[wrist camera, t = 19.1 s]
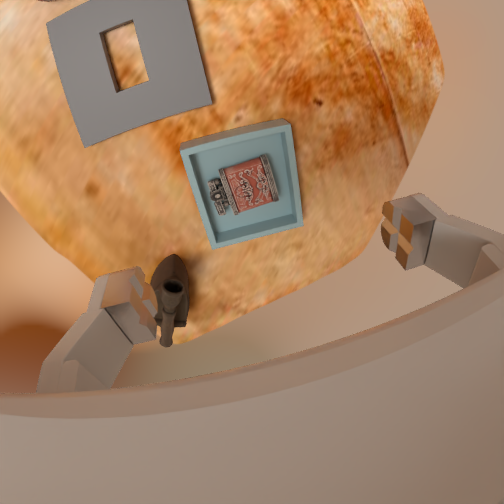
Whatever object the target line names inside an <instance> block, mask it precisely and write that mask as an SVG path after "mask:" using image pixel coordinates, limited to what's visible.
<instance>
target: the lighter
mask: <svg viewBox="0 0 504 504" xmlns="http://www.w3.org/2000/svg"><path fill="white" fill-rule="evenodd" d="M218 172H219V175H220V179H215V180H210V181H207V183H208V186H209V189H210V199H211V200H212V201H215V202H214V205H215V207H216V210H217V212H218V215H220V216H222V215H225V214H226V211H225V208H224V206H229V205H230V206H231V208H232V211H233V213H234V216H235V215H238V214H239V213H240V212H243V211H246V210H249V209H252V208H255V207H258V206H261V205H264V204H267V203H270V202H277V201H279V197H278V193H277V189H276V185H275V182H274V178H273V175H272V171H271V168H270V165H269V162H268V159H267V157H266V155H265V154H264V155H260V156H259V157H258V158H255V159H252V160H249V161H246V162H243V163H240V164H237V165H234V166H231V167H228V168H225V169H223V168H221V169H219V170H218ZM218 184H219V186H217V187H216V185H218ZM222 200H225V201H224V202H223V203H222ZM226 200H227V201H226Z"/></svg>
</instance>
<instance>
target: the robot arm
mask: <svg viewBox="0 0 504 504" xmlns="http://www.w3.org/2000/svg"><path fill="white" fill-rule="evenodd" d="M382 213H383V215H384V216H385V219H384V221H383V222H382V224H381V235H382V239H383V242H384V244H385V245H386V247H387V248H388V249H389V250H390V251H393V252H395V253H396V257H395V258H396V259H397V261H398V262H399V263H400V264H401V266H402V267H403V268H404V269H405V270H409V269H412V268H415V267H418V266H421V265H424V264H425V266H427V267H429V268H430V269H432V270H434V271H436V272H437V273H439V274H441V275H442V276H444V277H446V278H447V279H449V280H451V281H452V282H454V283H456V284H457V285H459V286H461V287H462V288H464V289H462V290H460V291H458V292H456V293H454V294H451V295H449V296H447V297H445V298H443V299H441V300H439V301H436V302H434V303H432V304H430V305H427V306H425V307H423V308H420V309H418V310H416V311H413V312H411V313H409V314H406V315H403V316H401V317H399V318H396V319H394V320H391V321H388V322H386V323H383V324H381V325H378V326H376V327H373V328H370V329H367V330H364V331H362V332H359V333H356V334H353V335H350V336H348V337H344V338H341V339H339V340H335V341H332V342H329V343H326V344H323V345H320V346H317V347H314V348H310V349H307V350H303V351H300V352H296V353H293V354H289V355H286V356H282V357H278V358H275V359H271V360H267V361H263V362H260V363H256V364H251V365H247V366H243V367H239V368H235V369H230V370H225V371H221V372H216V373H211V374H206V375H201V376H196V377H190V378H185V379H179V380H173V381H167V382H161V383H154V384H148V385H140V386H132V387H124V388H115V389H110V388H111V386H112V384H113V382H114V381H115V379H116V377H117V375H118V373H119V371H120V369H121V368H122V366H123V364H124V362H125V360H126V359H127V356H128V355H129V353H130V351H131V350H132V348H133V345H134V344H138V343H143V342H147V341H151V340H155V339H156V331H157V323H156V321H155V319H154V317H155V315H156V314H157V311H158V304H157V299H156V295H155V292H154V290H153V288H152V286H151V285H150V284H148V283H146V282H144V281H145V274H144V272H143V271H142V269H141V268H140V267H138V266H136V267H132V268H128V269H124V270H120V271H116V272H113V273H109V274H105V275H102V276H99V277H98V278H96V282H95V285H94V288H93V291H92V295H91V299H90V302H89V306H88V309H87V312H86V313H83V314H82V315H81V316H80V317H79V319H78V320H77V321H76V322H75V323H74V325H73V326H72V327H71V328H70V329H69V330H68V332H67V333H66V334H65V336H64V337H63V338H62V339H61V340H60V341H59V343H58V344H57V345H56V346H55V348H54V349H53V350H52V351H51V353H50V354H49V355H48V357H47V358H46V359H45V360H44V362H43V364H42V368H41V372H40V376H39V381H38V385H37V390H36V393H0V504H504V235H503V234H501V233H499V232H496V231H494V230H491V229H488V228H486V227H483V226H481V225H478V224H475V223H473V222H470V221H468V220H465V219H462V218H459V217H456V216H453V215H447V214H446V213H445V212H444V211H443V210H442V209H441V208H439V207H438V206H437V205H436V204H435V203H433V202H432V201H431V200H430V199H429V198H427V197H426V196H425V195H424V194H422V193H417V194H414V195H410V196H407V197H403V198H400V199H396V200H392V201H388V202H385V203H384V205H383V210H382Z"/></svg>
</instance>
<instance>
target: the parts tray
mask: <svg viewBox="0 0 504 504" xmlns="http://www.w3.org/2000/svg"><path fill="white" fill-rule="evenodd" d="M180 153H181V157H182V160H183V163H184V166H185V169H186V172H187V176H188V179H189V182H190V185H191V188H192V191H193V194H194V197H195V200H196V203H197V206H198V209H199V212H200V215H201V218H202V221H203V224H204V227H205V230H206V233H207V236H208V239H209V241H210V244H211V247H212V250H213V249H217V248H221V247H225V246H228V245H232V244H236V243H240V242H243V241H247V240H251V239H255V238H259V237H262V236H266V235H270V234H274V233H278V232H282V231H286V230H289V229H293V228H297V227H301V226H304V225H303V216H302V207H301V198H300V190H299V181H298V174H297V166H296V158H295V151H294V144H293V137H292V130H291V124H290V123H288V122H287V121H286V120H284V119H283V118H282V119H277V120H272V121H267V122H262V123H257V124H253V125H248V126H244V127H240V128H235V129H231V130H227V131H223V132H219V133H215V134H211V135H208V136H204V137H200V138H197V139H193V140H190V141H186V142H183V143H181V146H180ZM264 154H265V155H266V157H267V159H268V162H269V165H270V168H271V171H272V175H273V178H274V182H275V185H276V189H277V193H278V197H279V201H277V202H270V203H267V204H264V205H261V206H258V207H255V208H252V209H249V210H246V211H243V212H240V213H239V214H238V215H235V216H234V213H233V211H232V208H231V206H230V205H229V206H224V208H225V211H226V214H225V215H222V216H220V215H218V212H217V210H216V207H215V205H214V202H215V201H212V200H211V199H210V189H209V186H208V183H207V181H210V180H215V179H220V175H219V172H218V170H219V169H221V168H223V169H225V168H228V167H231V166H234V165H237V164H240V163H243V162H246V161H249V160H252V159H255V158H258V157H259V156H260V155H264ZM217 186H219V184H218V185H216V187H217ZM224 201H225V200H222V203H223V202H224ZM226 201H227V200H226Z"/></svg>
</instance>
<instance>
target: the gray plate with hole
mask: <svg viewBox="0 0 504 504" xmlns="http://www.w3.org/2000/svg"><path fill="white" fill-rule="evenodd" d="M131 22H134V26H135V30H136V34H137V37H138V41H139V45H140V49H141V52H142V56H143V60H144V63H145V67H146V70H147V74H148V77H149V81H147V82H144V83H141V84H138V85H135V86H133V87H130V88H128V89H125V90H122V91H119V88H118V85H117V81H116V78H115V75H114V71H113V68H112V65H111V61H110V57H109V54H108V50H107V47H106V43H105V39H104V35H103V34H104V33H106V32H108V31H111V30H113V29H115V28H118V27H120V26H123V25H126V24H128V23H131ZM46 26H47V30H48V35H49V39H50V43H51V47H52V51H53V55H54V58H55V62H56V65H57V69H58V72H59V76H60V79H61V82H62V86H63V89H64V92H65V95H66V98H67V101H68V104H69V107H70V110H71V113H72V116H73V118H74V121H75V124H76V127H77V129H78V132H79V135H80V137H81V140H82V142H83V145H84V148H86V147H88V146H91V145H93V144H95V143H98V142H100V141H102V140H105V139H107V138H110V137H112V136H115V135H117V134H120V133H122V132H125V131H128V130H130V129H133V128H136V127H139V126H141V125H144V124H147V123H150V122H153V121H156V120H159V119H162V118H165V117H168V116H171V115H175V114H178V113H181V112H185V111H188V110H192V109H195V108H199V107H203V106H206V105H210V104H212V101H211V97H210V92H209V88H208V84H207V80H206V76H205V72H204V68H203V64H202V60H201V56H200V52H199V48H198V44H197V40H196V36H195V32H194V28H193V24H192V20H191V16H190V12H189V8H188V4H187V0H89V1H87V2H85V3H83V4H81V5H79V6H77V7H75V8H73V9H71V10H69V11H67V12H65V13H64V14H62V15H60V16H58V17H56V18H55V19H53V20H51V21H50V22H48V23H46Z"/></svg>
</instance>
